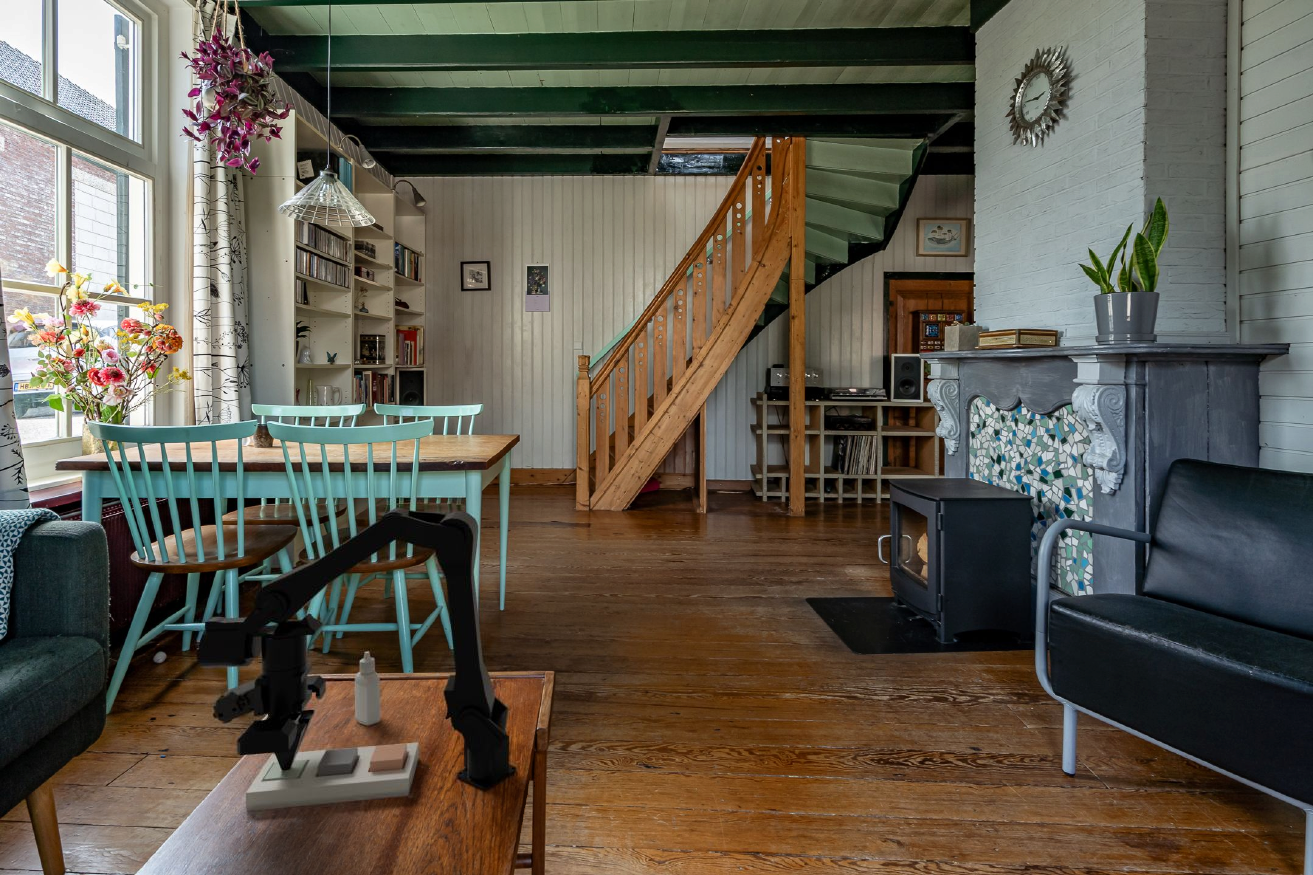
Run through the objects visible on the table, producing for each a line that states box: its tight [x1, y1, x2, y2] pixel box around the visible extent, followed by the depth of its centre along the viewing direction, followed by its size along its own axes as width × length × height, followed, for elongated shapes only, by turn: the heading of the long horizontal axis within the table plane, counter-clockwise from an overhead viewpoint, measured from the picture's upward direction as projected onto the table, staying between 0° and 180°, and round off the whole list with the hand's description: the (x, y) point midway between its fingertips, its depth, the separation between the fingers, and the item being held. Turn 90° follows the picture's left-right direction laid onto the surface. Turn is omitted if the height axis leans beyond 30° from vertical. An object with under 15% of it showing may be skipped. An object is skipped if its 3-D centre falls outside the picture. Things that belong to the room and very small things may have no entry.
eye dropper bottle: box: [354, 651, 381, 726], centre depth 118 cm, size 4×6×12 cm
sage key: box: [264, 760, 307, 781], centre depth 98 cm, size 4×4×2 cm
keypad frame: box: [245, 742, 420, 812], centre depth 99 cm, size 21×10×3 cm, turn 102°
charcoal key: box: [318, 747, 358, 777], centre depth 99 cm, size 4×4×2 cm
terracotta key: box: [370, 743, 407, 772], centre depth 101 cm, size 4×4×2 cm
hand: (286, 769), depth 98 cm, fingers closed, pressing on sage key
